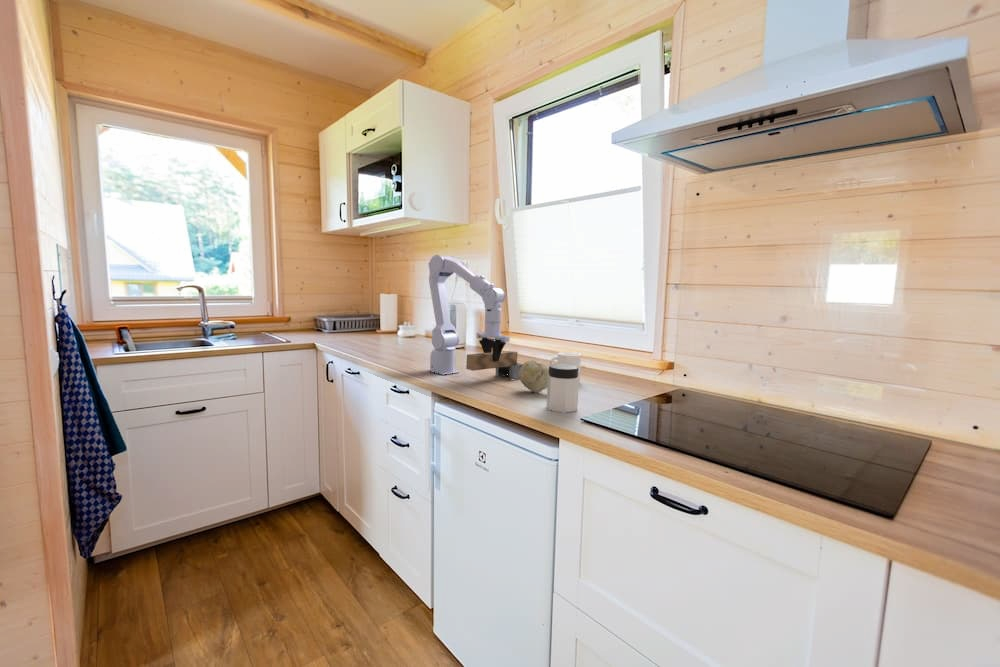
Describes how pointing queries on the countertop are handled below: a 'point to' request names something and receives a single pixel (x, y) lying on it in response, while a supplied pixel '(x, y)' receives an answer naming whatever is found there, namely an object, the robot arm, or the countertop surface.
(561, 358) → the mug
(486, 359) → the rail
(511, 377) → the bracket
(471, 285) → the robot arm
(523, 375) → the decorative item
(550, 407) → the jar
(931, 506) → the countertop surface
